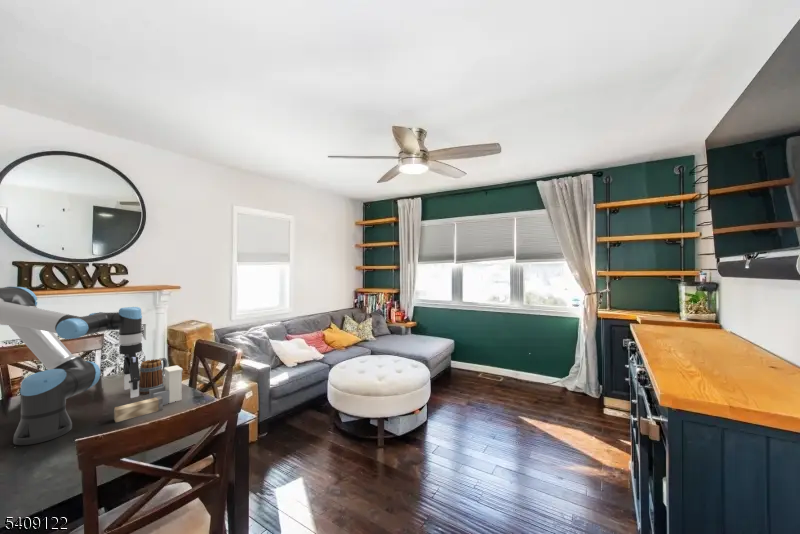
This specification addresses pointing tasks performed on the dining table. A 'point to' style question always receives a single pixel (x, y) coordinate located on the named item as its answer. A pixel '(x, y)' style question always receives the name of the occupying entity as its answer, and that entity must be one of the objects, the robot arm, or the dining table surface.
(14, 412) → the dining table surface
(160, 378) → the mug
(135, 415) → the rail
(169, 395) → the u-notched block
